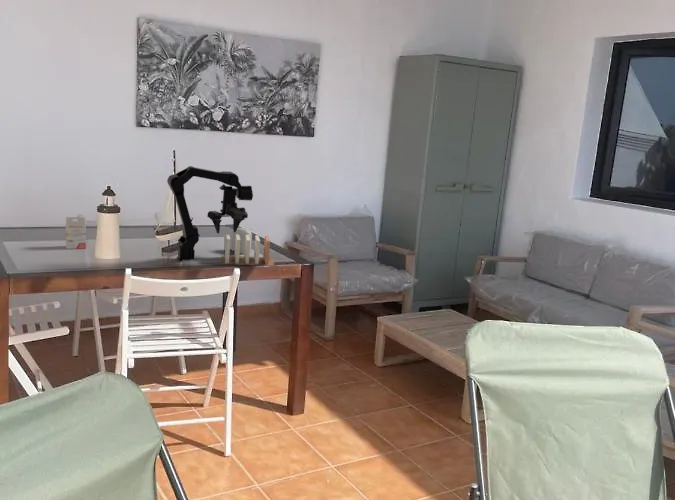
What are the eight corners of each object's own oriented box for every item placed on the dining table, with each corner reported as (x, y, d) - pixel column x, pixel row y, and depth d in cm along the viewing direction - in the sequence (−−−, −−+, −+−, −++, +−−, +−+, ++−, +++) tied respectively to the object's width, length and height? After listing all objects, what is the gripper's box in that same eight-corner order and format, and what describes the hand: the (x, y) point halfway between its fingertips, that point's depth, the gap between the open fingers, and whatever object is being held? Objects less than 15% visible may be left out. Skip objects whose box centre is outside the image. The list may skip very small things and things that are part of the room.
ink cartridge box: (85, 246, 319) (85, 215, 315) (85, 248, 314) (86, 217, 311) (65, 246, 316) (65, 214, 312) (65, 248, 311) (65, 217, 307)
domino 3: (245, 263, 314) (247, 240, 311) (244, 257, 323) (245, 234, 321) (248, 263, 314) (250, 240, 312) (247, 257, 324) (248, 235, 321)
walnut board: (222, 265, 310) (222, 263, 310) (221, 257, 323) (221, 255, 323) (275, 267, 315) (275, 265, 315) (272, 259, 328) (272, 257, 328)
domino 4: (255, 263, 315) (256, 240, 312) (253, 257, 324) (255, 235, 322) (258, 264, 315) (260, 240, 313) (256, 258, 325) (258, 235, 322)
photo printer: (252, 254, 333) (253, 230, 330) (246, 256, 329) (247, 231, 326) (236, 250, 338) (237, 225, 335) (230, 251, 335) (231, 226, 332)
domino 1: (225, 262, 312) (226, 239, 309) (224, 256, 322) (226, 233, 319) (228, 262, 312) (230, 239, 310) (227, 256, 322) (229, 234, 319)
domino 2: (235, 263, 313) (237, 239, 310) (234, 257, 323) (235, 234, 320) (238, 263, 313) (240, 239, 311) (237, 257, 323) (239, 234, 320)
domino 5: (265, 264, 316) (266, 241, 313) (263, 258, 325) (264, 235, 323) (268, 264, 316) (270, 241, 313) (266, 258, 326) (268, 236, 323)
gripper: (221, 203, 302) (219, 238, 306) (256, 202, 315) (253, 235, 319) (208, 198, 310) (205, 232, 314) (242, 197, 323) (239, 230, 327)
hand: (226, 232), depth 318 cm, fingers open, 9 cm apart
